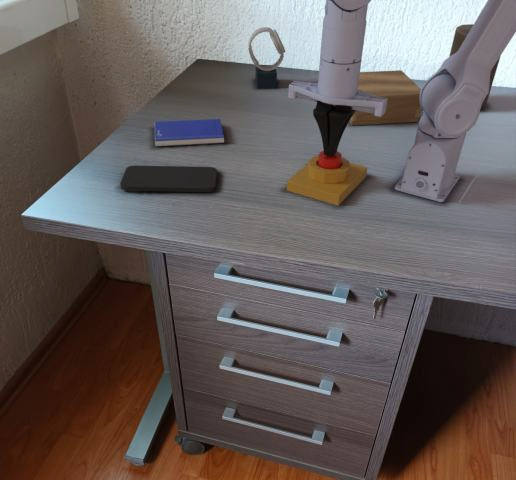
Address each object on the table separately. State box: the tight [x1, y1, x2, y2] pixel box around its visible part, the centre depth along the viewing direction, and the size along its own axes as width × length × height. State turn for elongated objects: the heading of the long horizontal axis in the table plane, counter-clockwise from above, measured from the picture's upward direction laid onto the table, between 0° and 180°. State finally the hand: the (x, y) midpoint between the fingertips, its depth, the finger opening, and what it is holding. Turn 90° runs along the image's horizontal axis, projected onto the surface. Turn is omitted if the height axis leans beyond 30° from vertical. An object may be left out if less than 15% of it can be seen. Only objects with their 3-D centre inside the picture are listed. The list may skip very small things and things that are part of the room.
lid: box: [358, 69, 422, 100], centre depth 103 cm, size 13×14×1 cm
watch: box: [247, 26, 286, 89], centre depth 114 cm, size 6×8×11 cm
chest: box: [349, 98, 422, 126], centre depth 106 cm, size 13×14×5 cm
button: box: [318, 150, 343, 169], centre depth 83 cm, size 4×4×2 cm
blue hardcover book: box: [154, 118, 225, 147], centre depth 97 cm, size 2×8×12 cm
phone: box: [120, 165, 218, 193], centre depth 85 cm, size 7×1×15 cm
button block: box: [286, 154, 368, 206], centre depth 84 cm, size 11×9×4 cm
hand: (330, 153), depth 82 cm, fingers closed
